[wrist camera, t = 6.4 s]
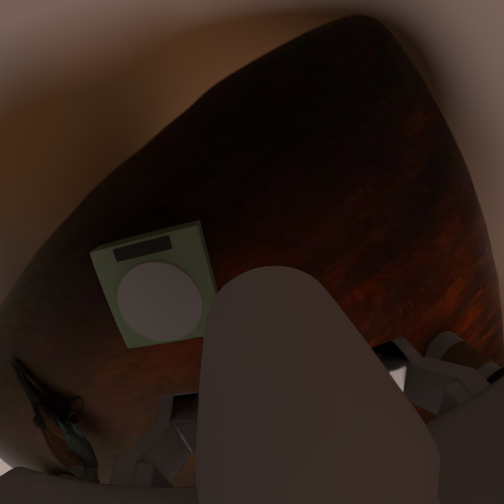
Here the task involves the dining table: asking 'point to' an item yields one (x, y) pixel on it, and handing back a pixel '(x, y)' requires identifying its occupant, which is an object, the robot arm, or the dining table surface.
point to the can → (302, 404)
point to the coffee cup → (463, 355)
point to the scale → (158, 284)
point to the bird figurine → (61, 430)
